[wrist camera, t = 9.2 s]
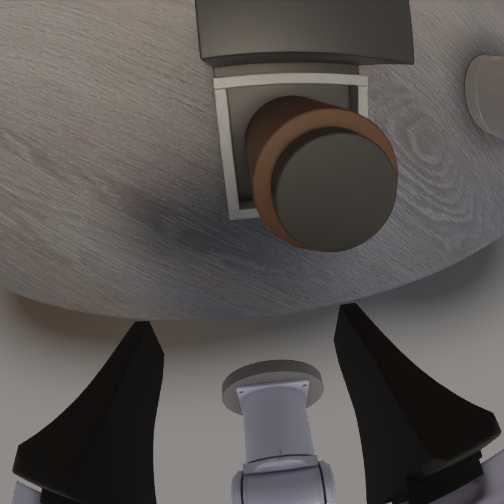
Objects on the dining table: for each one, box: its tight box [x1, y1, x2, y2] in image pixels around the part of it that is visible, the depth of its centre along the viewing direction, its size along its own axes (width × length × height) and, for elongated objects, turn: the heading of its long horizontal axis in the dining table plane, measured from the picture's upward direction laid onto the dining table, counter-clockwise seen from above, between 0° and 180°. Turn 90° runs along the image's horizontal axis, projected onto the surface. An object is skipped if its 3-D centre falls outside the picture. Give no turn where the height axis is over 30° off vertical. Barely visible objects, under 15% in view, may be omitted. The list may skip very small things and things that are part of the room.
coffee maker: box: [195, 0, 414, 220], centre depth 12 cm, size 11×8×6 cm
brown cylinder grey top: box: [245, 96, 398, 252], centre depth 12 cm, size 5×5×8 cm
